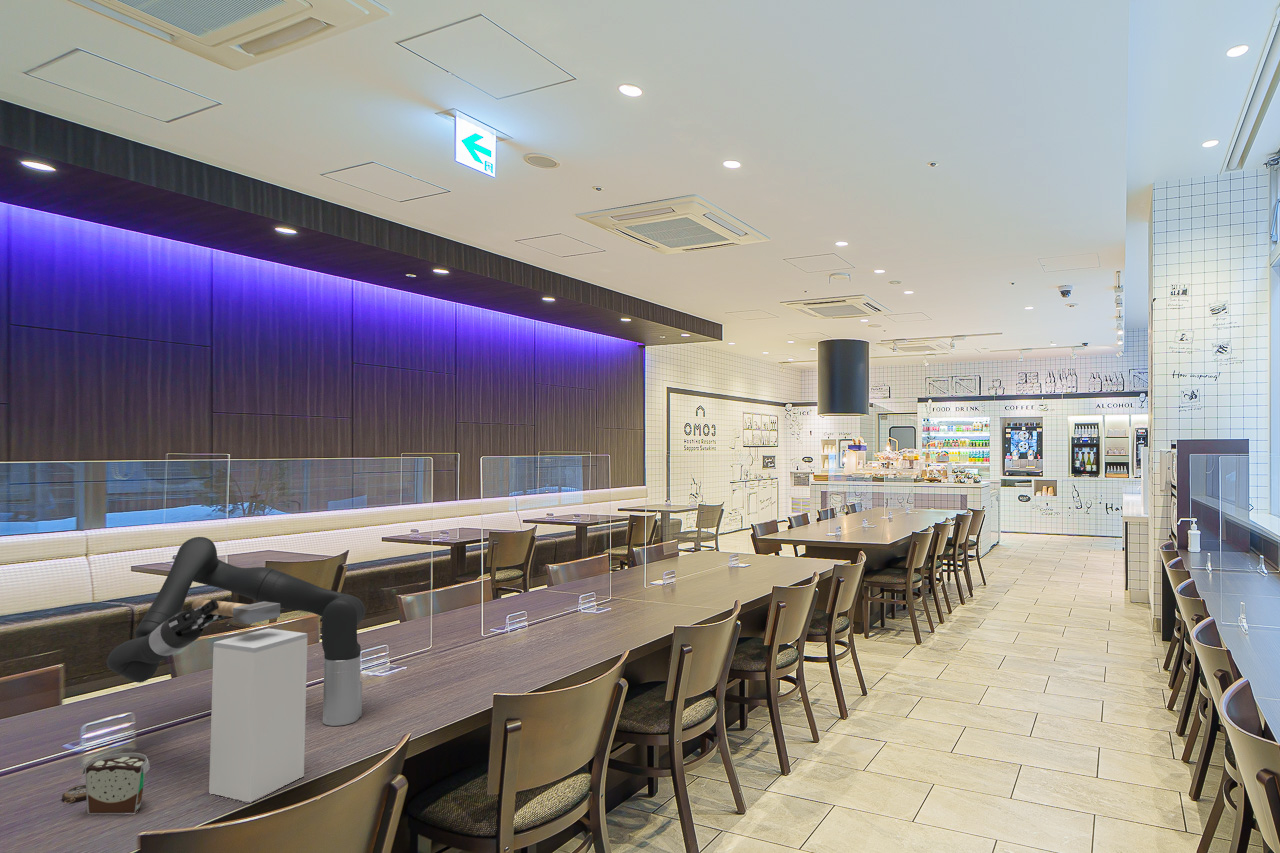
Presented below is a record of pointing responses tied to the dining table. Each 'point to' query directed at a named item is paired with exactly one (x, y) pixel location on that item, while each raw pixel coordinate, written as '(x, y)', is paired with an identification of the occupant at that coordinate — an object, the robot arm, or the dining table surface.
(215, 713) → the stand
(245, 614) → the mallet
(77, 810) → the dining table surface
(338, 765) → the dining table surface
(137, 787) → the food container
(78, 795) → the compass
